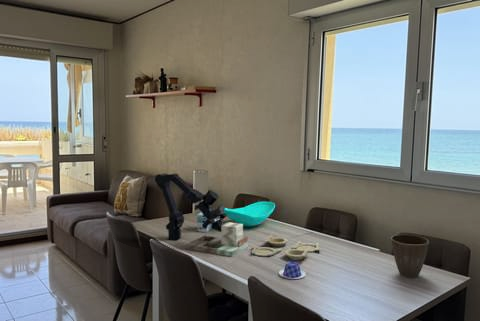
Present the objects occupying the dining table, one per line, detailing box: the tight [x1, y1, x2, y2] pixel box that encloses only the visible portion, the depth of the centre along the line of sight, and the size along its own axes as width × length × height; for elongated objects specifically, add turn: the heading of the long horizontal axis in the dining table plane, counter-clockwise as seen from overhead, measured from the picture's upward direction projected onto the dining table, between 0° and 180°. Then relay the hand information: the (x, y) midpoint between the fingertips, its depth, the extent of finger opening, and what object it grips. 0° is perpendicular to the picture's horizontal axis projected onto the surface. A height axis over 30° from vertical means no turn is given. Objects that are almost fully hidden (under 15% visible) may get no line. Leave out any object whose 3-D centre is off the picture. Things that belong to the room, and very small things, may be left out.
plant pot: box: [390, 234, 430, 279], centre depth 165 cm, size 15×15×16 cm
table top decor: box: [222, 201, 276, 228], centre depth 251 cm, size 40×28×13 cm
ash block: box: [220, 221, 244, 246], centre depth 205 cm, size 9×8×10 cm
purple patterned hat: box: [278, 261, 307, 280], centre depth 167 cm, size 12×12×5 cm
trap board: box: [185, 234, 249, 257], centre depth 205 cm, size 28×19×6 cm
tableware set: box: [251, 234, 322, 261], centre depth 199 cm, size 35×29×4 cm
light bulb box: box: [196, 211, 212, 233], centre depth 241 cm, size 11×7×11 cm, turn 168°
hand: (224, 232), depth 207 cm, fingers closed, pressing on ash block
